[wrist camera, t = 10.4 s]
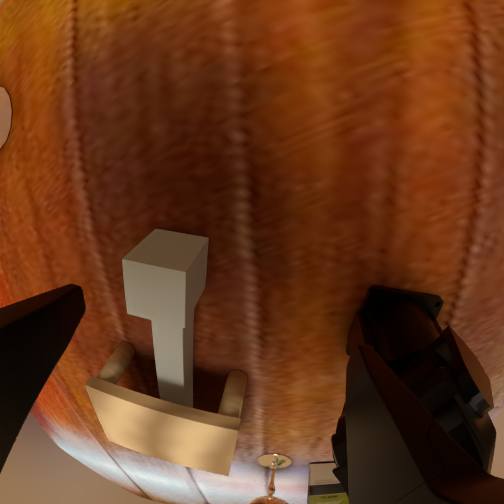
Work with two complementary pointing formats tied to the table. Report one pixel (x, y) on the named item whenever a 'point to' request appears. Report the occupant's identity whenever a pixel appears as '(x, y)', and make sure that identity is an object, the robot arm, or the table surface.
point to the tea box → (325, 485)
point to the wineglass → (272, 461)
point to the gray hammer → (168, 303)
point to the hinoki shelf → (167, 419)
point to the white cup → (4, 115)
